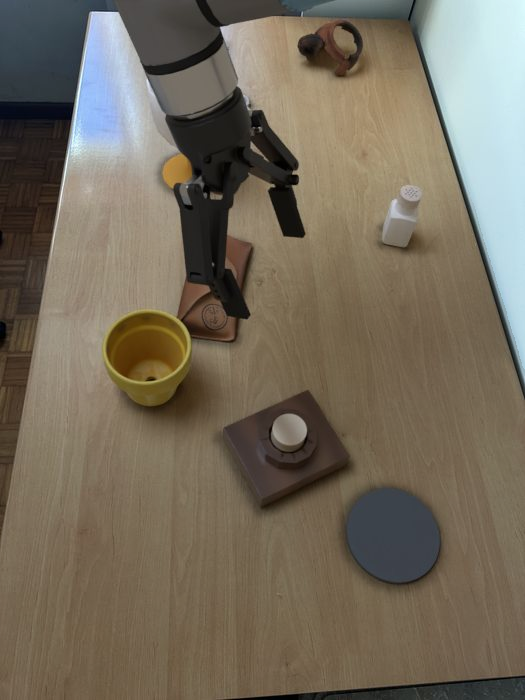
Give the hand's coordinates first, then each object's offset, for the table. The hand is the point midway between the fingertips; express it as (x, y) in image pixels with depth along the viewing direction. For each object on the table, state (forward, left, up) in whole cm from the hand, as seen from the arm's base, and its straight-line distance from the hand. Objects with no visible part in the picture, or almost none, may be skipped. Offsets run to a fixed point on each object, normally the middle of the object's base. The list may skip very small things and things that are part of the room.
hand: (268, 273), depth 75 cm
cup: (+16, -30, -17) cm, 38 cm away
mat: (-19, +22, -17) cm, 34 cm away
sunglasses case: (+8, -9, -17) cm, 21 cm away
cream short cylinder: (-5, +14, -12) cm, 19 cm away
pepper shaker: (-17, -24, -17) cm, 34 cm away
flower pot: (+13, +8, -17) cm, 22 cm away
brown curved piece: (-2, -64, -17) cm, 66 cm away
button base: (-5, +14, -17) cm, 22 cm away
